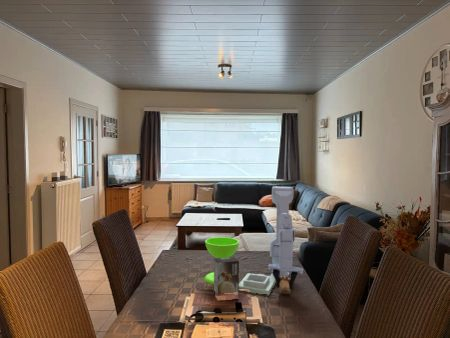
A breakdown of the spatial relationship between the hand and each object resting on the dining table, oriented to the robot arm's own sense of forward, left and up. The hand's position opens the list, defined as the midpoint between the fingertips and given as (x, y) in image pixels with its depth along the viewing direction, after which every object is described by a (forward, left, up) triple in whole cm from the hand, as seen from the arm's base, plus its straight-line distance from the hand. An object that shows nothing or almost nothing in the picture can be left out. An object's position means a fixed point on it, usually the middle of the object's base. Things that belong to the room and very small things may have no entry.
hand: (284, 288), depth 153 cm
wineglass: (-7, -31, -3) cm, 32 cm away
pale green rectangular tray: (-5, -13, -3) cm, 14 cm away
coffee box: (+13, -22, -3) cm, 26 cm away
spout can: (0, 0, -2) cm, 2 cm away
